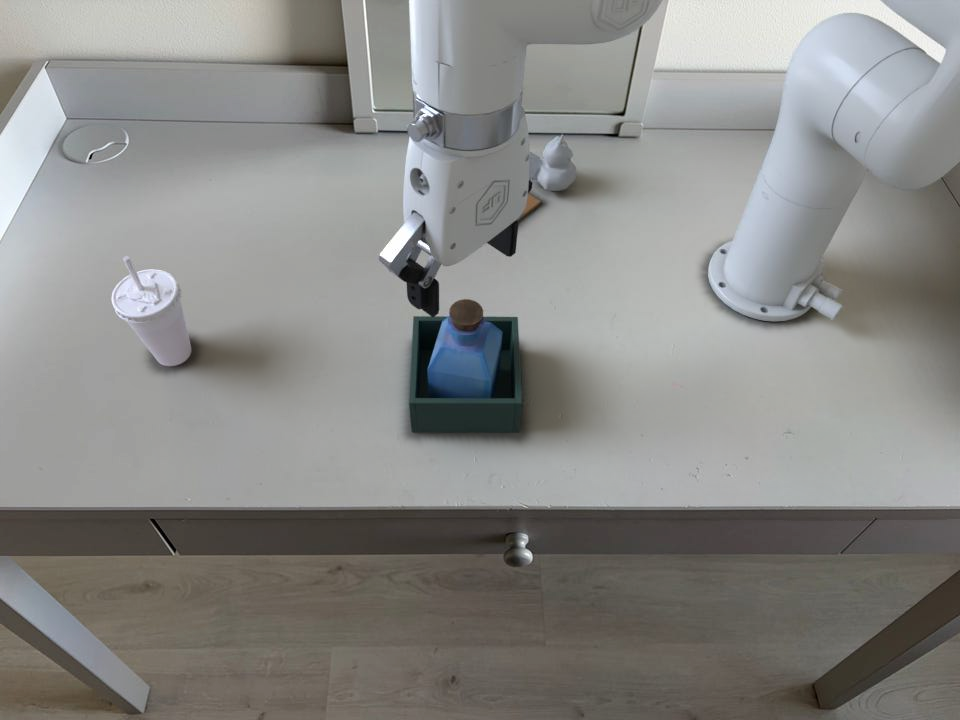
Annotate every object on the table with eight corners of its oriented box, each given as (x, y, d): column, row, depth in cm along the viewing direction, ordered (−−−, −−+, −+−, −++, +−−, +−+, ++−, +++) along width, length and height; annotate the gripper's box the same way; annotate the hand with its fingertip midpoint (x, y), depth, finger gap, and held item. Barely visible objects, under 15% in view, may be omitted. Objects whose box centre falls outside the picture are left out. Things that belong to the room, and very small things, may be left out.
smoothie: (179, 320, 86) (137, 227, 75) (216, 349, 84) (179, 258, 73) (130, 355, 83) (79, 263, 72) (167, 387, 81) (121, 297, 70)
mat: (540, 203, 99) (541, 201, 99) (504, 231, 96) (504, 229, 95) (499, 178, 102) (499, 176, 101) (463, 204, 98) (463, 202, 98)
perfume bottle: (488, 416, 79) (492, 343, 69) (429, 405, 80) (425, 331, 70) (499, 368, 83) (505, 293, 73) (443, 358, 83) (441, 282, 74)
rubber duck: (575, 199, 99) (583, 148, 93) (524, 198, 99) (528, 147, 93) (573, 171, 103) (580, 120, 96) (523, 170, 103) (527, 119, 96)
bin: (514, 347, 85) (517, 316, 81) (518, 432, 78) (522, 403, 74) (415, 347, 85) (413, 316, 80) (411, 432, 78) (408, 403, 74)
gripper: (416, 190, 48) (423, 357, 62) (585, 78, 57) (558, 247, 70) (336, 137, 51) (359, 307, 65) (508, 37, 59) (496, 207, 73)
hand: (462, 276), depth 68 cm, fingers open, 9 cm apart
